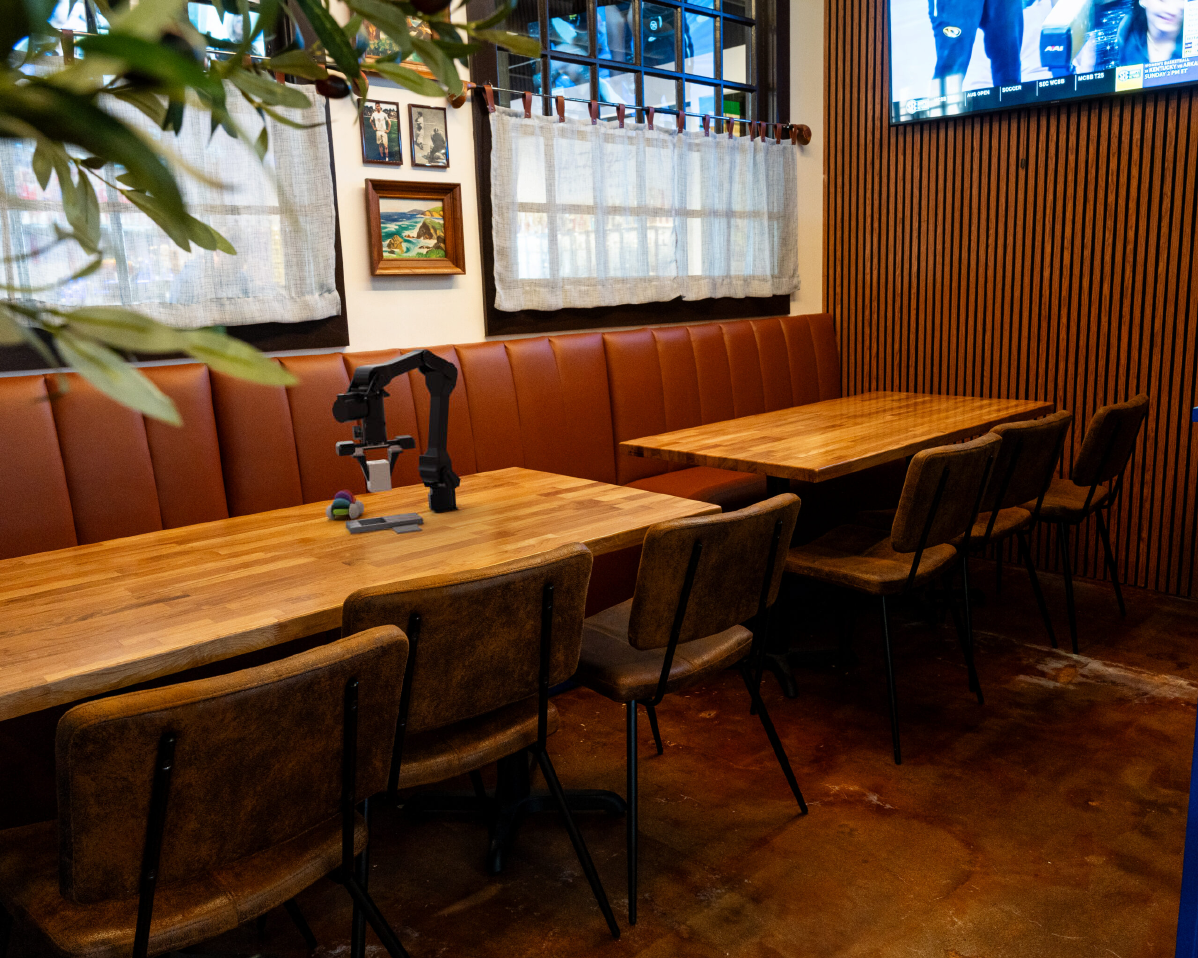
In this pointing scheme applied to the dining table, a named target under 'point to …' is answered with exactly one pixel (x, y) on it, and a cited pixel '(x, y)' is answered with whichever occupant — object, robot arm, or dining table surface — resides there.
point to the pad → (406, 528)
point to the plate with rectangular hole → (383, 522)
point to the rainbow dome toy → (345, 505)
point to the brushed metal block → (379, 476)
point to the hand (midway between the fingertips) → (378, 479)
